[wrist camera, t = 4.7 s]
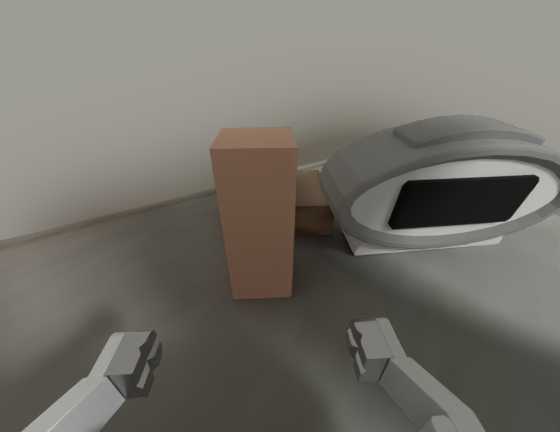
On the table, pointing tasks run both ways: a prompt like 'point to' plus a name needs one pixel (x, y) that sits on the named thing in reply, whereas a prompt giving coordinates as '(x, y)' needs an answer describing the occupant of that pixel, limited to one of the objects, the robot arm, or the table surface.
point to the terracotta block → (257, 208)
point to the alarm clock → (440, 185)
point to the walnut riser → (311, 206)
